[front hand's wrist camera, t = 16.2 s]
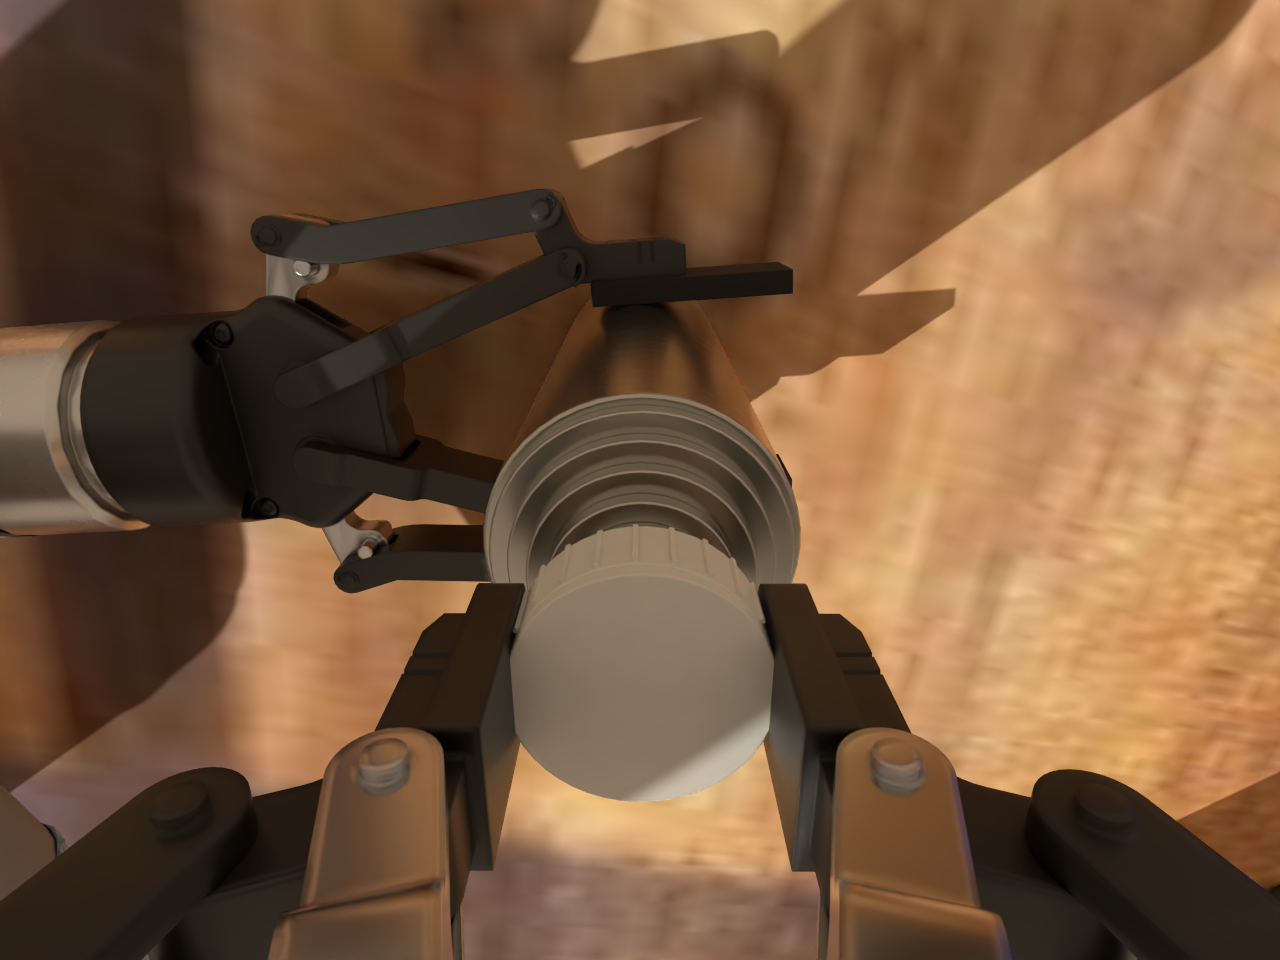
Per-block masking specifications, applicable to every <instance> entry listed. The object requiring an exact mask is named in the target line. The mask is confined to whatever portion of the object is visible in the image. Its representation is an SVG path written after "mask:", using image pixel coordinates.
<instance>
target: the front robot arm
mask: <svg viewBox="0 0 1280 960" xmlns="http://www.w3.org/2000/svg"><path fill="white" fill-rule="evenodd" d="M524 591H526V589H525V585H524V584H523V583H479V584H478V585H477V586H476V589H475V591H474V594H473V596H472V599H471V601H470V604H469V606H468V608H467V611H466V613H444V614H443V615H442V616H441V617H439V618H438V619H437V620H436V621H435V622H433V623H432V624H431V625H430V626H429V627H427V628H426V629H425V630H424V631H423V632H422V634H421V636H420V638H419V640H418V642H417V644H416V646H415V648H414V650H413V656H411V657H410V659H409V661H408V663H407V665H406V667H405V669H404V674H402V675H401V677H400V679H399V681H398V684H397V686H396V688H395V690H394V692H393V694H392V696H391V698H390V700H389V702H388V704H387V706H386V708H385V710H384V713H383V715H382V717H381V719H380V721H379V723H378V725H377V727H376V729H375V731H374V732H372V733H369V734H366V735H364V736H362V737H359V738H357V739H356V740H354V741H352V742H350V743H349V744H348V745H346V746H345V747H343V748H342V749H341V750H340V751H339V752H338V753H337V754H336V755H335V756H334V757H333V758H332V760H331V761H330V762H329V764H328V766H327V768H326V770H325V773H324V777H323V779H320V780H318V781H315V782H312V783H309V784H305V785H302V786H298V787H294V788H289V789H285V790H281V791H277V792H272V793H268V794H264V795H260V796H255V797H252V795H251V791H250V787H249V784H248V781H247V780H246V779H245V777H244V776H243V775H241V774H240V773H239V772H236V771H234V770H231V769H227V768H220V767H208V768H199V769H194V770H189V771H186V772H182V773H179V774H176V775H173V776H171V777H168V778H166V779H164V780H162V781H160V782H158V783H156V784H154V785H152V786H151V787H149V788H147V789H146V790H144V791H143V792H141V793H140V794H138V795H137V796H136V797H134V798H133V799H132V800H130V801H129V802H128V803H127V804H125V805H124V806H123V807H121V808H120V809H119V810H117V811H116V812H115V813H114V814H112V815H111V816H110V817H108V818H107V819H106V820H105V821H103V822H102V823H101V824H99V825H98V826H97V827H96V828H94V829H93V830H92V831H90V832H89V833H88V834H86V835H85V836H84V837H83V838H81V839H80V840H79V841H77V842H76V843H75V844H74V845H72V846H71V847H70V848H68V849H67V850H66V851H64V852H63V853H62V854H61V855H59V856H58V857H57V858H55V859H54V860H53V861H52V862H50V863H49V864H48V865H46V866H45V867H44V868H43V869H41V870H40V871H39V872H37V873H36V874H35V875H33V876H32V877H31V878H30V879H28V880H27V881H26V882H24V883H23V884H22V885H21V886H19V887H18V888H17V889H15V890H14V891H13V892H12V893H10V894H9V895H8V896H6V897H5V898H4V899H2V900H1V901H0V960H142V959H143V958H144V957H145V956H146V955H147V954H148V955H149V958H150V960H465V954H464V927H463V912H462V904H461V903H462V900H463V897H464V893H465V889H466V885H467V881H468V877H469V872H470V871H489V870H493V868H494V863H495V858H496V854H497V849H498V844H499V840H500V835H501V830H502V826H503V821H504V816H505V811H506V807H507V802H508V797H509V793H510V788H511V783H512V779H513V774H514V769H515V764H516V760H517V755H518V750H519V746H520V740H519V738H518V737H517V735H516V732H515V721H514V707H513V694H512V681H511V667H510V652H511V648H512V645H513V641H514V638H515V634H516V633H514V632H513V629H514V625H515V622H516V618H517V615H518V611H519V608H520V604H521V601H522V597H523V594H524ZM758 596H759V600H760V603H761V607H762V610H763V614H764V617H765V621H766V623H765V625H766V629H767V633H768V636H769V640H770V643H771V647H772V650H773V654H774V671H773V684H772V696H771V709H770V722H769V731H768V733H767V735H766V737H765V739H764V740H763V742H764V746H765V751H766V755H767V760H768V764H769V769H770V774H771V778H772V783H773V787H774V792H775V796H776V801H777V805H778V810H779V815H780V819H781V824H782V828H783V833H784V837H785V842H786V846H787V851H788V856H789V860H790V865H791V869H792V871H814V872H815V873H816V877H817V880H818V884H819V888H820V896H819V904H818V913H817V928H816V955H815V960H1280V886H1279V887H1277V888H1275V889H1273V890H1272V891H1270V892H1267V891H1266V890H1265V889H1263V888H1262V887H1261V886H1259V885H1258V884H1257V883H1256V882H1254V881H1253V880H1252V879H1250V878H1249V877H1248V876H1247V875H1245V874H1244V873H1243V872H1241V871H1240V870H1239V869H1237V868H1236V867H1235V866H1234V865H1232V864H1231V863H1230V862H1228V861H1227V860H1226V859H1225V858H1223V857H1222V856H1221V855H1219V854H1218V853H1217V852H1216V851H1214V850H1213V849H1212V848H1210V847H1209V846H1208V845H1206V844H1205V843H1204V842H1203V841H1201V840H1200V839H1199V838H1197V837H1196V836H1195V835H1194V834H1192V833H1191V832H1190V831H1188V830H1187V829H1186V828H1184V827H1183V826H1182V825H1181V824H1179V823H1178V822H1177V821H1175V820H1174V819H1173V818H1172V817H1170V816H1169V815H1168V814H1166V813H1165V812H1164V811H1163V810H1161V809H1160V808H1159V807H1157V806H1156V805H1155V804H1153V803H1152V802H1151V801H1150V800H1148V799H1147V798H1146V797H1144V796H1143V795H1141V794H1140V793H1138V792H1137V791H1135V790H1134V789H1132V788H1130V787H1128V786H1127V785H1125V784H1123V783H1121V782H1118V781H1116V780H1114V779H1111V778H1109V777H1106V776H1103V775H1100V774H1096V773H1093V772H1088V771H1082V770H1072V769H1066V770H1057V771H1052V772H1049V773H1047V774H1045V775H1043V776H1042V777H1040V778H1039V779H1038V780H1037V782H1036V783H1035V785H1034V788H1033V791H1032V795H1031V798H1030V797H1026V796H1022V795H1018V794H1014V793H1009V792H1005V791H1001V790H997V789H992V788H988V787H984V786H981V785H977V784H974V783H971V782H968V781H966V780H963V779H961V778H959V777H957V776H956V773H955V770H954V768H953V766H952V764H951V762H950V761H949V760H948V758H947V757H946V756H945V755H944V754H943V753H942V752H941V751H940V750H939V749H938V748H937V747H935V746H934V745H932V744H931V743H930V742H928V741H926V740H924V739H923V738H921V737H918V736H916V735H914V734H912V733H911V731H910V729H909V727H908V725H907V723H906V721H905V719H904V717H903V715H902V713H901V711H900V709H899V707H898V705H897V703H896V701H895V699H894V697H893V695H892V693H891V691H890V689H889V687H888V685H887V683H886V681H885V679H884V677H883V675H881V674H880V668H879V666H878V664H877V662H876V660H875V658H874V657H872V652H871V650H870V648H869V646H868V644H867V642H866V640H865V638H864V636H863V634H862V632H861V631H860V630H859V629H857V628H856V627H855V626H854V625H853V624H851V623H850V622H849V621H848V620H847V619H845V618H844V617H843V616H842V615H840V614H819V613H818V611H817V608H816V606H815V603H814V601H813V599H812V596H811V594H810V591H809V589H808V587H807V585H806V584H760V585H759V589H758Z"/></svg>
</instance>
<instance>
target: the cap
mask: <svg viewBox="0 0 1280 960" xmlns="http://www.w3.org/2000/svg"><path fill="white" fill-rule="evenodd" d="M765 623H766V621H765V617H764V614H763V610H762V607H761V603H760V600H759V596H758V593H757V589H756V586H755V584H754V582H751V583H750V582H749V581H748V579H747V578H746V576H745V575H744V573H743V572H742V571H741V570H740V569H739V568H738V566H737V564H736V560H735V559H734V558H733V557H731V558H730V559H729V558H728V557H727V556H726V555H725V554H724V553H722V552H721V551H719V550H718V549H716V548H715V547H713V546H712V545H710V544H708V540H706V539H704V538H703V540H700V539H698V538H696V537H694V536H691V535H688V534H685V533H682V532H679V531H675V528H672V527H669V529H666V528H659V527H648V526H640V527H638V524H633V527H625V528H617V529H612V530H608V531H604V532H603V530H599V531H597V534H595V535H592V536H590V537H587V538H585V539H582V540H580V541H579V542H577V543H575V544H573V545H571V544H568V545H566V546H565V550H564V551H562V552H561V553H560V554H558V555H557V556H556V557H555V558H554V559H552V560H551V561H550V562H549V563H548V564H547V565H546V566H545V565H544V564H543V565H542V566H541V567H540V570H539V574H538V576H537V578H536V579H535V580H534V582H533V584H532V586H531V588H530V589H529V591H524V594H523V597H522V601H521V604H520V608H519V611H518V615H517V618H516V622H515V625H514V629H513V632H514V633H516V634H515V638H514V641H513V645H512V648H511V652H510V667H511V681H512V694H513V707H514V721H515V732H516V735H517V737H518V738H519V740H520V741H521V743H522V745H523V746H524V748H525V749H526V750H527V751H528V752H529V754H530V755H531V756H532V757H533V758H534V759H535V760H536V761H537V762H538V763H539V764H540V765H541V766H542V767H543V768H544V769H546V770H547V771H548V772H550V773H551V774H553V775H554V776H555V777H557V778H558V779H560V780H562V781H564V782H565V783H567V784H569V785H571V786H573V787H575V788H577V789H580V790H582V791H585V792H587V793H590V794H594V795H597V796H600V797H604V798H609V799H615V800H621V801H633V802H653V801H661V800H670V799H674V798H678V797H683V796H687V795H690V794H693V793H696V792H699V791H702V790H704V789H706V788H708V787H710V786H712V785H714V784H716V783H718V782H720V781H721V780H723V779H725V778H726V777H728V776H730V775H731V774H732V773H733V772H735V771H736V770H737V769H739V768H740V767H741V766H742V765H743V764H744V763H745V762H746V761H747V760H748V759H749V758H750V757H751V756H752V755H753V754H754V753H755V751H756V750H757V749H758V747H759V746H760V745H761V744H762V742H763V740H764V739H765V737H766V735H767V733H768V731H769V722H770V709H771V696H772V684H773V671H774V654H773V650H772V647H771V643H770V640H769V636H768V633H767V629H766V625H765Z"/></svg>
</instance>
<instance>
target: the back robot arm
mask: <svg viewBox="0 0 1280 960" xmlns="http://www.w3.org/2000/svg"><path fill="white" fill-rule="evenodd" d="M533 231H534V234H535V236H536V238H537V240H538V242H539V244H540V246H541V248H542V251H543V253H544V254H543V255H541V256H539V257H537V258H534V259H532V260H530V261H528V262H526V263H523V264H521V265H519V266H517V267H514V268H512V269H510V270H508V271H506V272H503V273H501V274H499V275H497V276H494V277H492V278H490V279H488V280H486V281H483V282H481V283H479V284H477V285H474V286H472V287H470V288H468V289H466V290H463V291H461V292H459V293H457V294H454V295H452V296H450V297H448V298H445V299H443V300H441V301H439V302H437V303H434V304H432V305H430V306H428V307H425V308H423V309H421V310H419V311H417V312H414V313H412V314H410V315H407V316H405V317H402V318H400V319H398V320H396V321H393V322H391V323H389V324H387V325H385V326H382V327H380V328H378V329H376V330H373V331H371V332H369V333H367V332H365V331H364V330H362V329H360V328H358V327H357V326H355V325H353V324H352V323H350V322H348V321H346V320H345V319H343V318H341V317H339V316H338V315H336V314H334V313H333V312H331V311H329V310H327V309H326V308H324V307H322V306H320V305H319V304H317V303H315V302H313V301H312V300H310V299H308V298H307V297H306V294H307V290H308V288H309V287H310V286H311V285H312V284H318V283H321V282H325V281H328V280H330V279H332V278H334V277H335V276H336V274H337V272H338V270H339V264H345V263H353V262H359V261H365V260H371V259H376V258H382V257H388V256H394V255H400V254H406V253H411V252H417V251H423V250H429V249H435V248H440V247H446V246H452V245H458V244H464V243H470V242H475V241H481V240H487V239H493V238H499V237H504V236H510V235H516V234H522V233H528V232H533ZM251 237H252V241H253V242H254V244H255V246H256V247H257V248H258V249H259V250H260V251H261V252H263V253H265V254H266V294H265V296H264V297H261V298H258V299H257V300H255V301H253V302H252V303H251V304H250V305H248V306H247V307H246V308H244V309H242V310H238V311H225V312H211V313H197V314H183V315H169V316H155V317H141V318H133V319H128V320H126V321H123V322H121V323H119V322H114V321H109V320H98V321H85V322H72V323H59V324H46V325H33V326H20V327H7V328H0V538H5V537H19V536H36V535H47V534H68V533H89V532H109V531H130V530H136V529H142V528H147V527H149V526H151V525H152V526H157V527H180V526H195V525H210V524H226V523H241V522H252V521H260V520H266V519H273V518H285V519H290V520H294V521H297V522H300V523H302V524H305V525H307V526H310V527H315V528H322V529H323V531H324V533H325V535H326V537H327V539H328V541H329V542H330V544H331V546H332V548H333V550H334V552H335V554H336V555H337V557H338V559H339V561H340V563H341V565H340V566H339V567H338V568H337V570H336V571H335V573H334V581H335V584H336V585H337V587H338V588H339V589H341V590H342V591H344V592H347V593H357V592H360V591H364V590H367V589H370V588H373V587H376V586H380V585H383V584H386V583H389V582H392V581H396V580H430V581H485V582H491V579H490V576H489V572H488V569H487V566H486V561H485V554H484V548H483V525H433V524H420V525H408V526H401V527H397V528H393V529H392V526H391V524H390V522H388V521H387V520H381V521H380V520H372V521H369V520H364V519H362V518H360V517H359V516H358V515H356V513H355V512H354V510H355V509H356V508H357V507H358V506H359V505H360V504H362V503H363V502H364V501H365V500H366V499H367V498H369V497H370V496H371V495H372V494H373V493H376V494H381V495H385V496H389V497H393V498H397V499H402V500H407V501H415V500H419V499H428V500H432V501H436V502H440V503H445V504H449V505H453V506H457V507H461V508H465V509H470V510H474V511H478V512H482V513H485V509H486V505H487V502H488V498H489V495H490V492H491V489H492V487H493V484H494V482H495V480H496V478H497V476H498V473H499V471H500V469H501V467H502V465H503V463H504V461H502V460H498V459H493V458H489V457H485V456H481V455H477V454H473V453H469V452H465V451H461V450H457V449H453V448H449V447H446V446H444V445H443V444H442V443H441V442H440V441H438V440H435V439H432V438H428V437H424V436H420V435H416V434H415V431H414V425H413V420H412V418H411V416H410V414H409V412H408V410H407V407H406V405H405V403H404V400H403V396H404V385H405V377H404V371H403V366H402V362H403V361H405V360H407V359H409V358H411V357H413V356H416V355H418V354H420V353H422V352H425V351H427V350H429V349H432V348H434V347H436V346H438V345H441V344H443V343H445V342H447V341H450V340H452V339H454V338H456V337H459V336H461V335H463V334H466V333H468V332H470V331H472V330H475V329H477V328H479V327H481V326H484V325H486V324H488V323H490V322H493V321H495V320H497V319H500V318H502V317H504V316H506V315H509V314H511V313H513V312H515V311H518V310H520V309H522V308H525V307H527V306H529V305H531V304H534V303H536V302H538V301H540V300H543V299H545V298H547V297H549V296H552V295H554V294H556V293H559V292H561V291H563V290H565V289H568V288H570V287H572V286H574V288H575V287H576V286H577V285H579V284H583V283H591V294H592V305H593V307H607V306H621V305H636V304H650V303H664V302H678V301H692V300H706V299H721V298H735V297H749V296H763V295H777V294H791V293H793V269H791V268H789V267H787V266H785V265H783V264H781V263H779V262H770V263H756V264H742V265H728V266H714V267H700V268H686V258H685V244H684V243H683V242H682V241H679V240H676V239H673V238H670V237H655V238H641V239H628V240H614V241H600V242H599V241H592V240H589V239H587V238H585V237H584V236H583V235H582V234H581V233H580V232H579V231H578V229H577V227H576V225H575V223H574V221H573V219H572V216H571V214H570V212H569V210H568V208H567V204H566V201H565V198H564V197H563V196H562V195H561V194H560V193H559V192H557V191H555V190H553V189H536V190H530V191H525V192H519V193H513V194H507V195H502V196H496V197H490V198H485V199H479V200H473V201H467V202H462V203H456V204H450V205H444V206H439V207H433V208H427V209H422V210H416V211H410V212H404V213H399V214H393V215H387V216H382V217H376V218H370V219H364V220H359V221H353V222H342V221H337V220H332V219H326V218H321V217H316V216H311V215H306V214H282V215H270V216H262V217H260V218H258V219H256V220H255V222H254V223H253V224H252V228H251ZM776 456H777V458H778V460H779V462H780V464H781V466H782V468H783V470H784V472H785V474H786V477H787V479H788V481H789V483H790V485H791V488H792V479H791V477H790V475H789V473H788V471H787V469H786V468H785V466H784V464H783V462H782V460H781V458H780V457H779V455H778V454H776ZM67 849H68V847H67V845H66V843H65V840H64V838H62V836H61V834H60V832H59V831H58V830H57V829H56V828H55V827H53V826H50V825H46V824H43V823H41V822H39V821H38V820H37V819H36V818H35V817H34V816H33V815H32V814H31V813H30V812H29V811H28V810H27V809H26V808H25V807H24V806H23V805H22V804H21V803H20V802H19V801H17V800H16V799H15V798H14V797H13V796H12V795H11V794H10V793H9V792H8V791H7V790H6V789H5V788H4V787H3V786H2V785H1V784H0V901H1V900H2V899H4V898H5V897H6V896H8V895H9V894H10V893H12V892H13V891H14V890H15V889H17V888H18V887H19V886H21V885H22V884H23V883H24V882H26V881H27V880H28V879H30V878H31V877H32V876H33V875H35V874H36V873H37V872H39V871H40V870H41V869H43V868H44V867H45V866H46V865H48V864H49V863H50V862H52V861H53V860H54V859H55V858H57V857H58V856H59V855H61V854H62V853H63V852H64V851H66V850H67Z"/></svg>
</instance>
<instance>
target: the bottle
mask: <svg viewBox="0 0 1280 960" xmlns="http://www.w3.org/2000/svg"><path fill="white" fill-rule="evenodd" d="M633 524H638V527H640V526H648V527H659V528H666V529H669V527H672V528H675V531H679V532H682V533H685V534H688V535H691V536H694V537H696V538H698V539H700V540H703V538H704V539H706V540H708V544H710V545H712V546H713V547H715V548H716V549H718V550H719V551H721V552H722V553H724V554H725V555H726V556H727V557H728V558H729V559H730V558H731V557H733V558H734V559H735V560H736V564H737V566H738V568H739V569H740V570H741V571H742V572H743V573H744V575H745V576H746V578H747V579H748V581H749V582H750V583H751V582H754V584H755V586H756V589H757V593H758V589H759V585H760V584H792V581H793V577H794V574H795V571H796V568H797V564H798V558H799V552H800V534H801V527H800V520H799V512H798V507H797V504H796V500H795V497H794V493H793V490H792V488H791V485H790V483H789V481H788V479H787V477H786V474H785V472H784V470H783V468H782V466H781V464H780V462H779V460H778V458H777V456H776V454H775V452H774V450H773V448H772V446H771V444H770V442H769V440H768V438H767V436H766V434H765V432H764V430H763V428H762V426H761V424H760V422H759V420H758V418H757V416H756V414H755V412H754V410H753V408H752V405H751V403H750V401H749V399H748V397H747V395H746V393H745V391H744V389H743V387H742V385H741V383H740V381H739V379H738V377H737V375H736V373H735V371H734V369H733V367H732V365H731V363H730V361H729V359H728V357H727V355H726V353H725V351H724V349H723V347H722V345H721V343H720V341H719V339H718V337H717V335H716V333H715V331H714V329H713V327H712V325H711V323H710V321H709V319H708V317H707V315H706V314H705V312H704V310H703V309H702V308H701V307H700V305H699V304H698V303H697V302H696V301H695V300H692V301H678V302H664V303H650V304H636V305H621V306H607V307H593V305H592V298H591V299H590V300H589V301H588V302H587V303H586V304H585V305H584V306H583V308H582V309H581V310H580V312H579V313H578V315H577V317H576V318H575V320H574V322H573V324H572V326H571V328H570V330H569V332H568V334H567V336H566V338H565V340H564V342H563V344H562V346H561V349H560V351H559V353H558V355H557V357H556V359H555V361H554V363H553V365H552V367H551V369H550V371H549V373H548V375H547V377H546V379H545V381H544V383H543V385H542V387H541V389H540V391H539V393H538V395H537V397H536V399H535V401H534V403H533V405H532V407H531V409H530V411H529V413H528V415H527V417H526V419H525V421H524V423H523V425H522V427H521V429H520V431H519V433H518V435H517V437H516V439H515V441H514V443H513V445H512V447H511V449H510V451H509V453H508V455H507V457H506V459H505V461H504V463H503V465H502V467H501V469H500V471H499V473H498V476H497V478H496V480H495V482H494V484H493V487H492V489H491V492H490V495H489V498H488V502H487V505H486V509H485V516H484V524H483V548H484V554H485V561H486V566H487V569H488V572H489V576H490V579H491V582H492V583H523V584H524V585H525V589H526V591H529V589H530V588H531V586H532V584H533V582H534V580H535V579H536V578H537V576H538V574H539V570H540V567H541V566H542V565H543V564H544V565H545V566H546V565H547V564H548V563H549V562H550V561H551V560H552V559H554V558H555V557H556V556H557V555H558V554H560V553H561V552H562V551H564V550H565V546H566V545H568V544H571V545H573V544H575V543H577V542H579V541H580V540H582V539H585V538H587V537H590V536H592V535H595V534H597V531H599V530H603V532H604V531H608V530H612V529H617V528H625V527H633Z"/></svg>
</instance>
